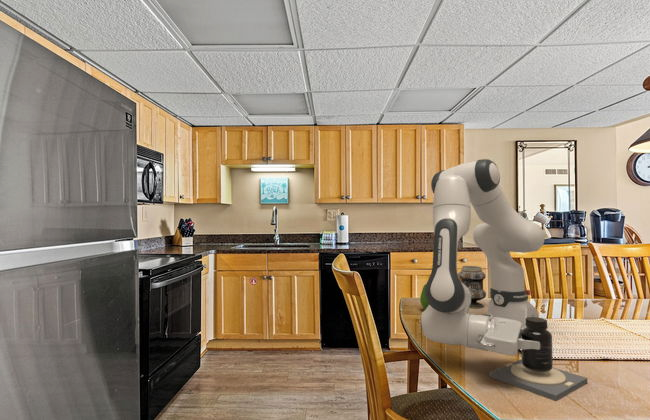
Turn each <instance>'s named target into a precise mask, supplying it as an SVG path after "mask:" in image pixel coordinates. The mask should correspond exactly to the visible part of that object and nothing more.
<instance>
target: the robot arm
mask: <svg viewBox="0 0 650 420" xmlns="http://www.w3.org/2000/svg"><path fill="white" fill-rule="evenodd" d="M500 182H501V174H500V170H499V168H498V165H497V164H496V163H495V161H492V160H491V159H489V158H484V159H483V158H482V159H478V160H477V161H476V160H475V161H470V162H469V161H468V162H464V163H460V164H458V165H455V166H452V167H448V168H446V169H441V170H440V171H438V172H436V173H435V174H434V175H433V176H432V178H431V183H430V184H431V191H432V194H433V198H432V199H433V201H432V225H433V234H434V236H433V251H432V253H433V254H432V265H431V266H432V267H431V271H430V275H429V277H428V279H427V281H426V283H425V284H426V287H425V296H426V299H427V302H428V303H429V306H428V307H427V308H426V310H425V309H424V311H422V313H421V315H420V327H421V331H422V333H423V336H424V337H425V338H427V339H428V340H430V341H432V342H436V343H438V344H439V343H440V344H444V345H450V346H457V345H458V346H463V347H465V348H469V349H475V350H480V351H481V350H482V351H487V352H488V351H489V352H492V353H496V354H500V355H505V356H510V357H511V356H512V357H514V356H517V355H518V353H519V350H522V349H537V350H539V349H540V341H537V340H524V339H521V332H522V330H523V329H524V328H526V326H525V323H526V320H525V319H526V318H527V317H538V318H539V312H538V309H537V307H536V306H534V305H533V304H532V303H531V301H529V298H528V296H531V293H532V291H531V289H526V288H525V270H524V268H523V266H522V265H521V264H520V263H518V262H516V261H515V260H514V259H513V257H512V256H511V253H523V254H524V253H525V254H526V253H532V252H538V251H539V250H540V249H542V247H543V245H544V243H545V239H546V237H545V233H544V231H543V229H542V227H541V226H540V225H539V224H536V223H534V222H533V221H530V220H528V219H527V218H525V217H524V216H522V215H521V214H520V213H519V212H517V211H516V210H515V209H514V208H513V206H511V204H510V203H509V201H508V199H507V198H506V196H505V193H504V191H503V190H502V187H501V186H500ZM471 206H472V208H473V209H474V211H475V213H476V215H477V217H478V218H479V220H480V221H482V222H483V223H478V224H476V227H475V228H474V231H473V237H472V238H473V241H474V243H475V245H476V246H477V247H478V248H479V249H480V250H481V251H482V252H483V254H484V255H485V257H486V259H487V261H488V264H489V269H490V279H491V280H490V281H491V283H490V284H491V288H490V289H489V294H490V295H489V296H490V300H489V301H488V303H487V312H486V313H485V314H471V313H469V311H470V308H469V307H470V303H471V293H470V291H469V289H468V288H467V286H466V285H464V284H463V283H462V282H461V278H459V276H458V246H459V242H460V239H462V237H464V236H465V235H467V233H468V232H469V231H470V225H471V216H472V213H471V211H472V210H471Z"/></svg>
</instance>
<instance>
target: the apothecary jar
mask: <svg viewBox="0 0 650 420" xmlns="http://www.w3.org/2000/svg"><path fill="white" fill-rule="evenodd" d="M457 274H458V277H459V279H460V281H461V282H462V283H463V284H464V285H466V286H467V288H468V289H469V291H470V293H471V303H470V307H469V309H481V308H484V307H485V306H484V304H482V303H480V302H479V301H482V300H484V299H485V298H486V296H487V292H486V291H485V290H484V280H485V278H486V273H485V272H483V269H482V267H481V266H478V265H477V266H476V265H462V266H461V270H460V271H459V272H457Z"/></svg>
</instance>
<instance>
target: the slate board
mask: <svg viewBox="0 0 650 420" xmlns="http://www.w3.org/2000/svg"><path fill="white" fill-rule="evenodd" d="M489 377H490V378H493V379H495V380H498V381H500V382H503V383H506V384H508V385H512V386H515V387H517V388H520V389H522V390H525V391H528V392H531V393H533V394H536V395H539V396H541V397H544V398H547V399H550V400H552V401H555V402H557V401H558V400H560V399H562V398H564V397H566V396H567V395H569V394H571V393H572V392H575V391H576V390H578V389H579V388H581V387H583V386H584V385H586V384H588V377H586V376H582V375H578V374H575V373H572V372H568V371H567V370H565V371H564V370H563V369H559V368H555V367H554V366H553V367H552V369H551V370H550V371H547V372H539V371H533V370H530V369H528V368H526V367H524V366H523V364H522V358H521V359H519V360H515V361H514V362H509V363H506V364H504V365H503V366H501V367H498V368H496V369H492V370H491V371H489Z"/></svg>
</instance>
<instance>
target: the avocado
mask: <svg viewBox="0 0 650 420" xmlns="http://www.w3.org/2000/svg"><path fill="white" fill-rule="evenodd" d="M426 284H427V283H425V284H424V285H423V286H422V289H421V293H420V304H421V307H422V308H423V310H424V311H425V310H426V308H427V307H428V306H429V303H428V302H427V299H426V296H425V287H426Z"/></svg>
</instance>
